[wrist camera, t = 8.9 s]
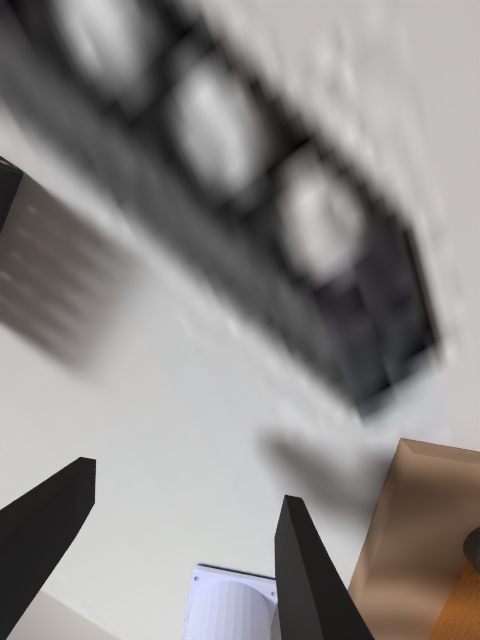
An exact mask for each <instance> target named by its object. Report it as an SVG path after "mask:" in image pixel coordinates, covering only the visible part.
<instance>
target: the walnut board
mask: <svg viewBox="0 0 480 640" xmlns="http://www.w3.org/2000/svg"><path fill="white" fill-rule="evenodd" d="M478 527H480V452H476V451H471V450H465V449H459V448H454V447H448V446H442V445H437V444H431V443H425V442H420V441H414V440H408V439H403V438H400V441H399V444H398V447H397V450H396V453H395V455H394V458H393V461H392V464H391V467H390V470H389V473H388V476H387V479H386V481H385V484H384V487H383V490H382V493H381V496H380V499H379V502H378V505H377V507H376V510H375V513H374V516H373V519H372V522H371V525H370V528H369V531H368V533H367V536H366V539H365V542H364V545H363V548H362V551H361V554H360V557H359V559H358V562H357V565H356V568H355V571H354V574H353V577H352V580H351V583H350V585H349V588H348V593H349V595H350V597H351V598H352V600H353V602H354V604H355V606H356V607H357V609H358V611H359V613H360V614H361V616H362V618H363V620H364V621H365V623H366V625H367V627H368V628H369V630H370V632H371V633H372V635H373V637H374V639H375V640H428V638H429V636H430V634H431V632H432V630H433V628H434V626H435V624H436V622H437V619H438V617H439V615H440V613H441V611H442V609H443V607H444V605H445V603H446V601H447V598H448V596H449V594H450V592H451V590H452V588H453V586H454V584H455V582H456V579H457V577H458V575H459V573H460V571H461V569H462V567H463V565H464V563H465V560H466V557H465V555H464V553H463V543H464V541H465V539H466V537H467V536H468V535H469V534H470V533H471V532H472V531H473V530H474V529H476V528H478Z"/></svg>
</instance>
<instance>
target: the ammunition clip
mask: <svg viewBox="0 0 480 640" xmlns="http://www.w3.org/2000/svg"><path fill="white" fill-rule="evenodd" d="M22 177H23V174H22V171H21V170H20V169H19V168H17V167H16V166H14V165H13V164H11V163H10V162H8V161H7V160H5V159H4V158H2V157H1V156H0V232H1V230H2V227H3V225H4V222H5V220H6V217H7V215H8V212H9V210H10V207H11V204H12V202H13V199H14V197H15V194H16V192H17V189H18V187H19V184H20V182H21V179H22Z"/></svg>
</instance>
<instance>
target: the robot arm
mask: <svg viewBox="0 0 480 640" xmlns="http://www.w3.org/2000/svg"><path fill="white" fill-rule="evenodd" d="M95 477H96V460H95V459H90V458H84V457H79V458H78V459H76V460H75V461H73V462H72V463H70V464H69V465H67V466H66V467H64V468H63V469H61V470H60V471H58V472H57V473H55V474H54V475H52V476H51V477H50V478H48V479H47V480H45V481H44V482H42V483H41V484H39V485H38V486H36V487H35V488H33V489H32V490H30V491H29V492H27V493H26V494H24V495H23V496H21V497H19V498H18V499H16V500H15V501H13V502H12V503H10V504H9V505H7V506H6V507H4V508H3V509H1V510H0V640H6V639H7V637H8V636H9V634H10V633H11V631H12V630H13V628H14V626H15V625H16V623H17V622H18V621H19V619H20V618H21V616H22V615H23V613H24V612H25V610H26V609H27V608H28V606H29V605H30V603H31V602H32V600H33V599H34V597H35V596H36V594H37V593H38V592H39V590H40V589H41V587H42V586H43V584H44V583H45V581H46V580H47V578H48V577H49V576H50V574H51V573H52V571H53V570H54V568H55V567H56V565H57V564H58V562H59V561H60V560H61V558H62V557H63V555H64V554H65V552H66V551H67V549H68V548H69V546H70V545H71V543H72V542H73V540H74V539H75V537H76V536H77V534H78V532H79V530H80V529H81V527H82V525H83V524H84V522H85V520H86V518H87V516H88V515H89V513H90V511H91V509H92V507H93V505H94V504H95ZM275 578H276V580H271V579H266V578H260V577H255V576H250V575H245V574H240V573H235V572H230V571H225V570H220V569H214V568H209V567H204V566H199V565H197V566H195V567H194V568H193V571H192V577H191V584H190V590H189V597H188V604H187V610H186V617H185V624H184V630H183V637H182V638H183V640H271V630H270V629H271V625H272V621H273V618H274V614H275V610H276V606H277V602H278V609H279V618H280V628H281V638H282V640H375V639H374V637H373V635H372V633H371V632H370V630H369V628H368V627H367V625H366V623H365V621H364V620H363V618H362V616H361V614H360V613H359V611H358V609H357V607H356V606H355V604H354V602H353V600H352V598H351V597H350V595H349V593H348V591H347V589H346V587H345V586H344V584H343V582H342V580H341V578H340V576H339V574H338V572H337V570H336V568H335V566H334V564H333V563H332V561H331V559H330V557H329V555H328V553H327V551H326V549H325V547H324V545H323V543H322V541H321V538H320V536H319V534H318V532H317V530H316V528H315V526H314V524H313V521H312V519H311V517H310V515H309V512H308V510H307V508H306V506H305V503H304V501H303V500H302V498H299V497H294V496H289V495H285V496H284V500H283V504H282V509H281V513H280V517H279V521H278V525H277V529H276V534H275Z"/></svg>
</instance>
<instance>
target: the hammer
mask: <svg viewBox="0 0 480 640" xmlns="http://www.w3.org/2000/svg"><path fill="white" fill-rule="evenodd" d="M463 553H464V555H465V557H466V560H465V563H464V565H463V567H462V569H461V571H460V573H459V575H458V577H457V579H456V582H455V584H454V586H453V588H452V590H451V592H450V594H449V596H448V598H447V601H446V603H445V605H444V607H443V609H442V611H441V613H440V615H439V617H438V619H437V622H436V624H435V626H434V628H433V630H432V632H431V634H430V636H429V638H428V640H480V527H478V528H476V529H474V530H473V531H472V532H471V533H470V534H469V535H468V536H467V537H466V539H465V541H464V543H463Z"/></svg>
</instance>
